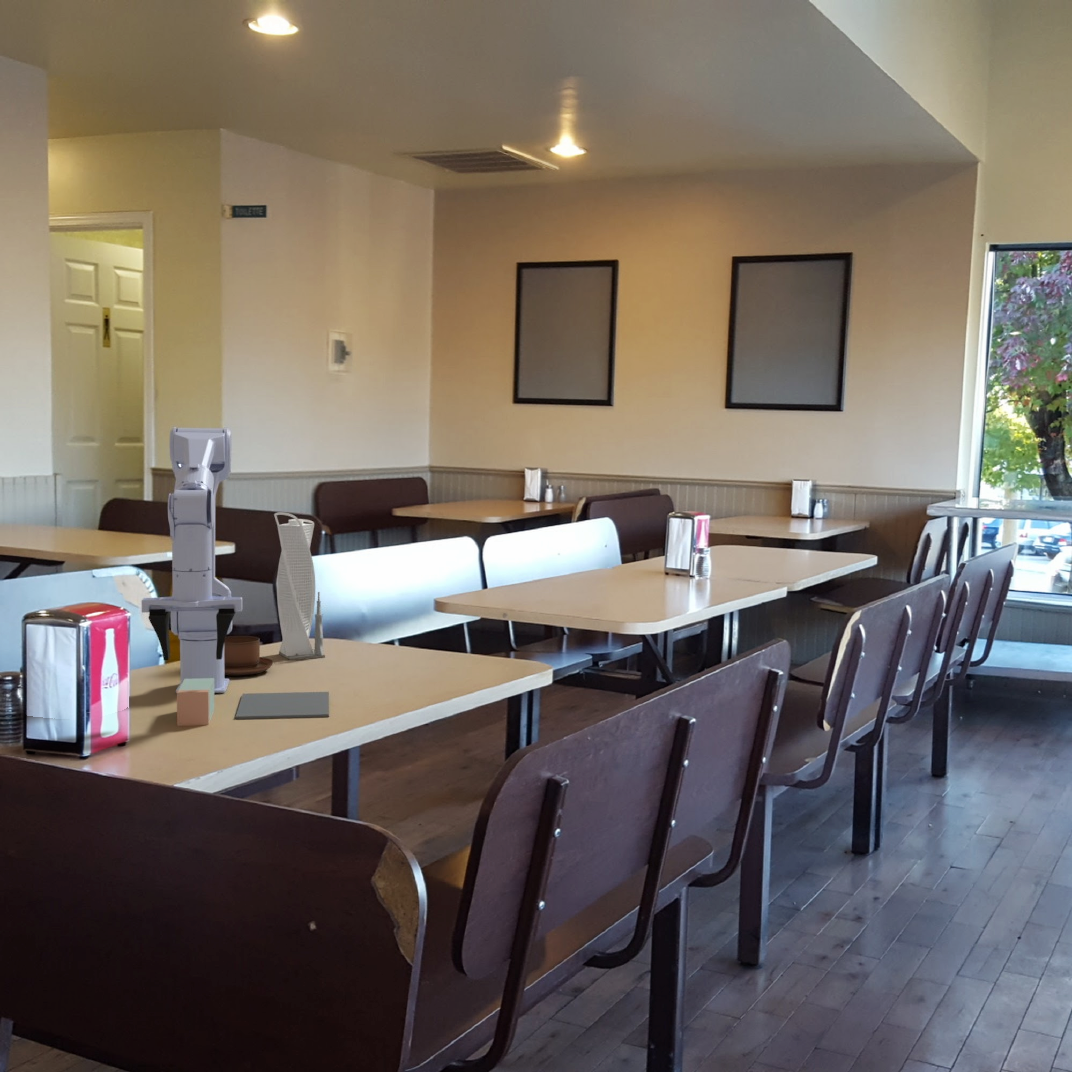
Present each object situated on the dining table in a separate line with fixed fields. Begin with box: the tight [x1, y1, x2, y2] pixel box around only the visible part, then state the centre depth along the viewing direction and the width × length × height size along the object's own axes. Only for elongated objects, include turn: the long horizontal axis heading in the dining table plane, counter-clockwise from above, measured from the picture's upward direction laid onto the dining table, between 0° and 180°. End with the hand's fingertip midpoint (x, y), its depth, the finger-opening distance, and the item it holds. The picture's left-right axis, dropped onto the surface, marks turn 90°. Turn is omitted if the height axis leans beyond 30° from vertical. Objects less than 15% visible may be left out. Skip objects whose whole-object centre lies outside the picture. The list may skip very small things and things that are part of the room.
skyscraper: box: [273, 511, 326, 661], centre depth 236 cm, size 8×8×28 cm
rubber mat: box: [235, 691, 330, 720], centre depth 195 cm, size 16×14×1 cm
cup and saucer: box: [224, 635, 274, 677], centre depth 221 cm, size 12×12×6 cm
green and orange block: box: [176, 678, 216, 727], centre depth 187 cm, size 10×4×5 cm, turn 10°
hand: (193, 658), depth 185 cm, fingers open, 7 cm apart
